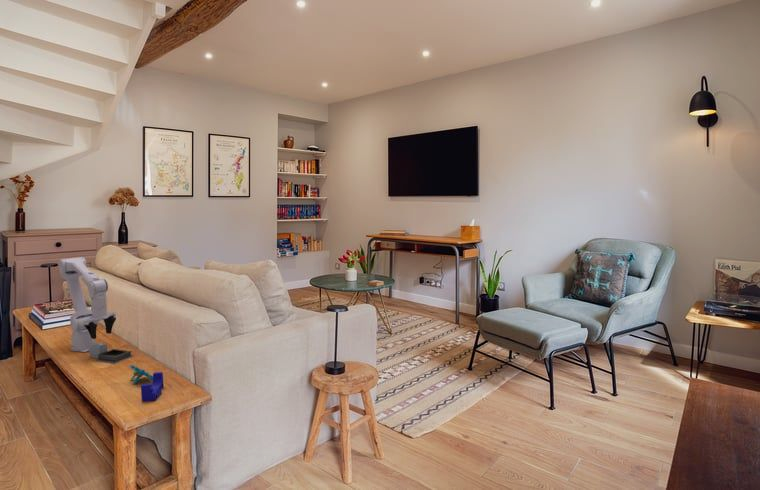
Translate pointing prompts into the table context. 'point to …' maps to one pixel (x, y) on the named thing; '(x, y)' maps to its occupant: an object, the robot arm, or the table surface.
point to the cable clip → (152, 388)
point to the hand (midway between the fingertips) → (101, 335)
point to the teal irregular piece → (139, 374)
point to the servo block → (97, 349)
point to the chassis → (114, 356)
